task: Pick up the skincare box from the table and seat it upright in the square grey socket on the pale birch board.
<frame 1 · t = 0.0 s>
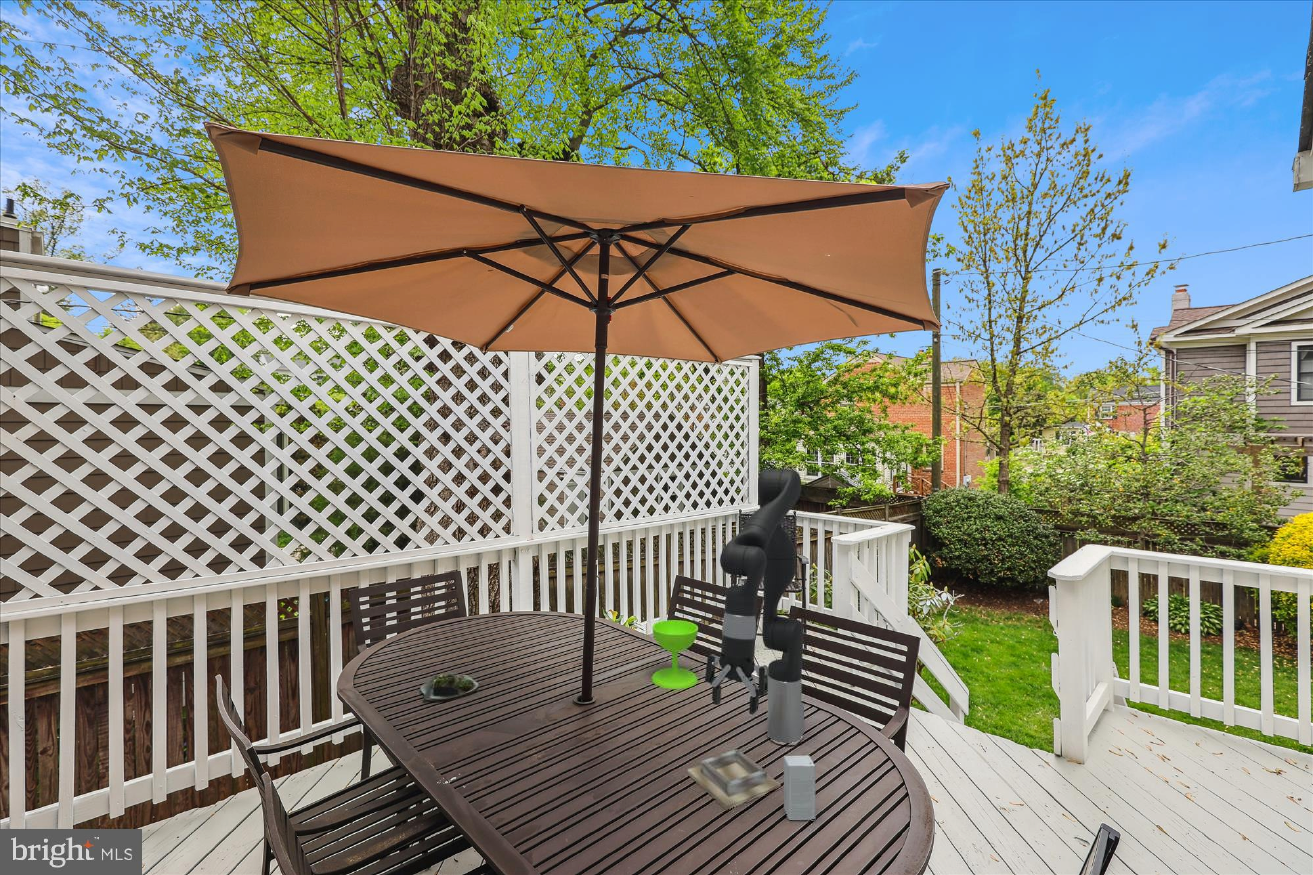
hand: (734, 708, 125), 22 cm above the table, tool pointing down, fingers open, 8 cm apart
wineglass: (674, 679, 194), on the table
socket board: (733, 781, 135), on the table
salad plate: (449, 692, 183), on the table
skincare box: (799, 815, 123), on the table
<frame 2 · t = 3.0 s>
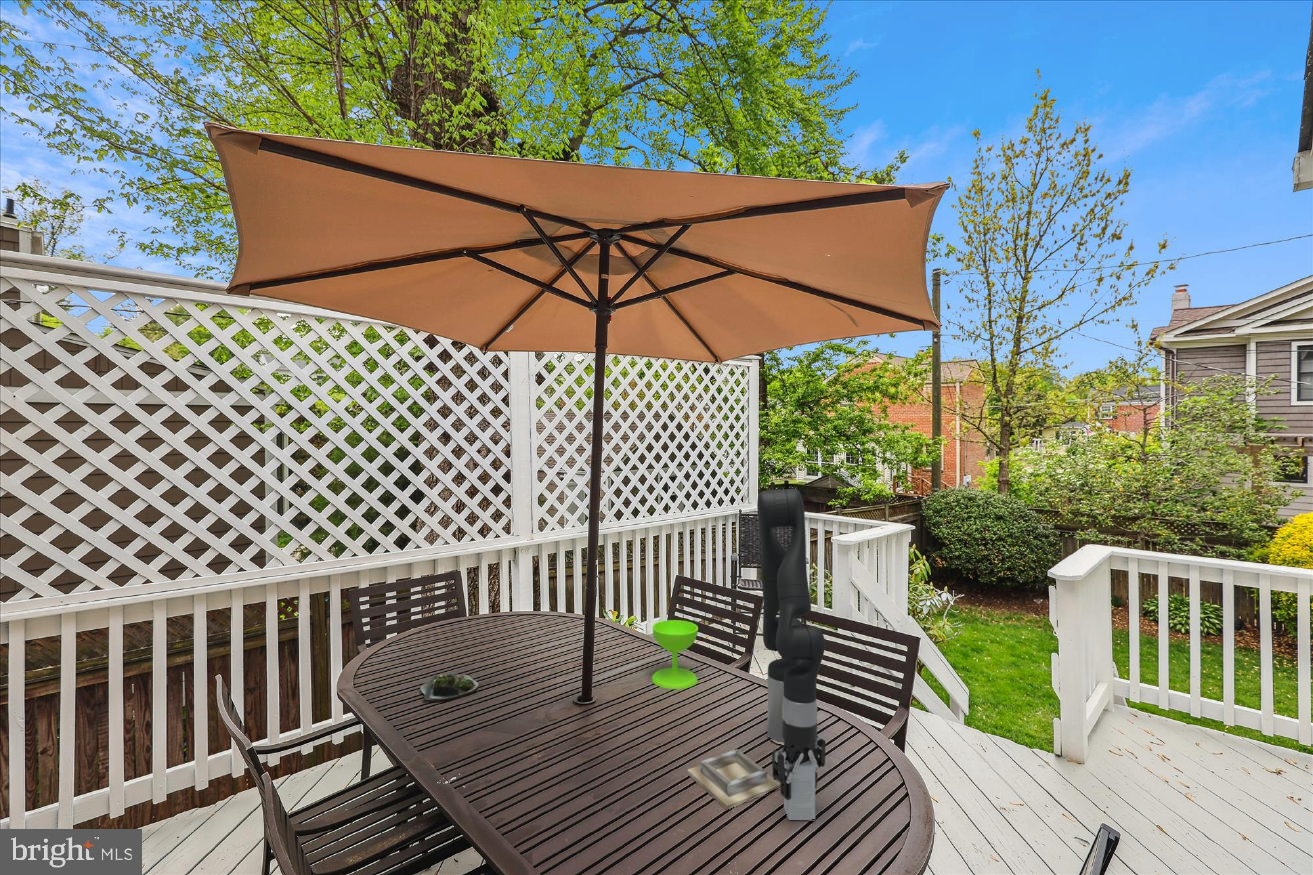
hand: (799, 792, 123), 5 cm above the table, tool pointing down, fingers closed on skincare box, 7 cm apart
skincare box: (798, 815, 123), on the table, touching gripper
everything else where it was.
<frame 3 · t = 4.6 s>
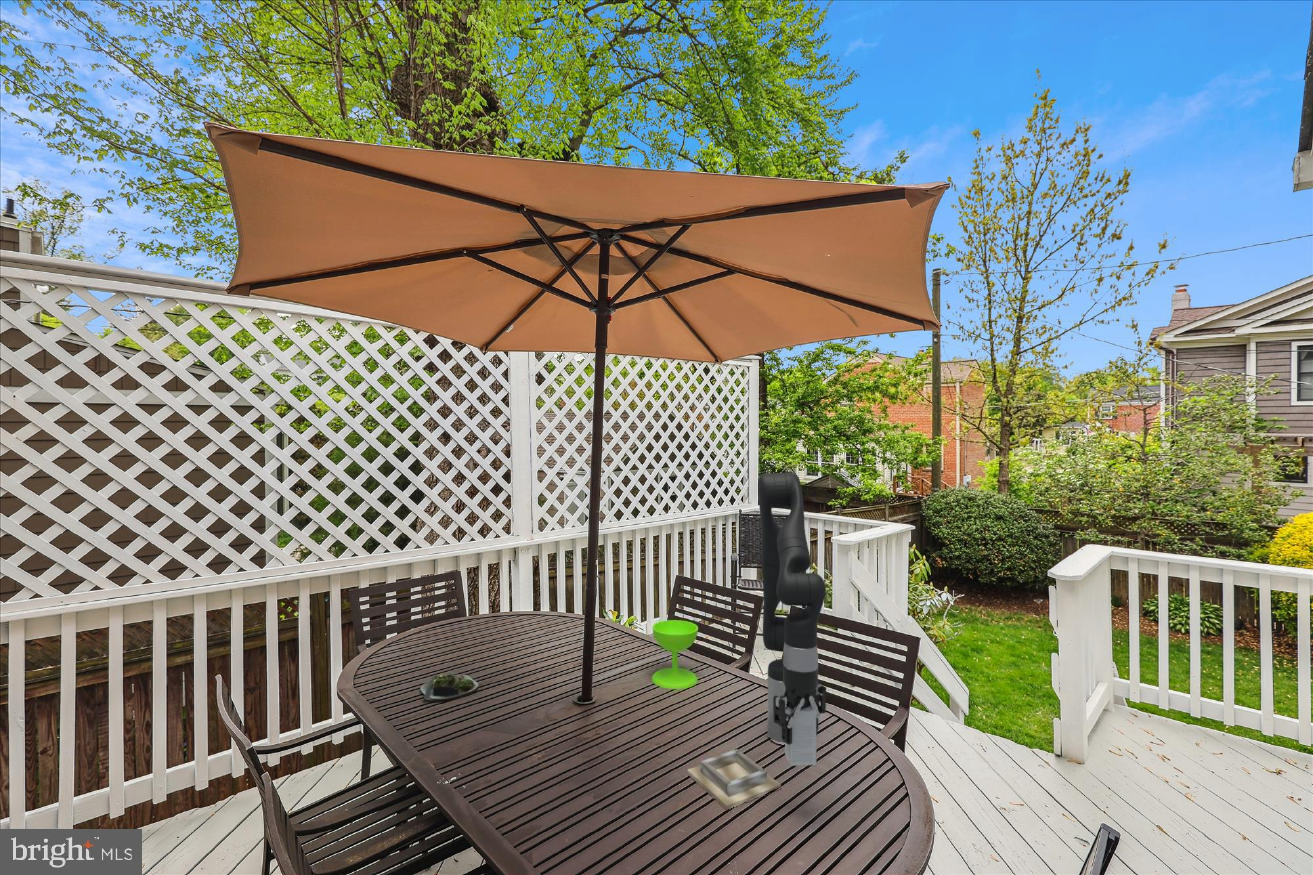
hand: (800, 737, 123), 17 cm above the table, tool pointing down, fingers closed on skincare box, 7 cm apart
skincare box: (800, 761, 123), point 12 cm above the table, touching gripper
everything else where it was.
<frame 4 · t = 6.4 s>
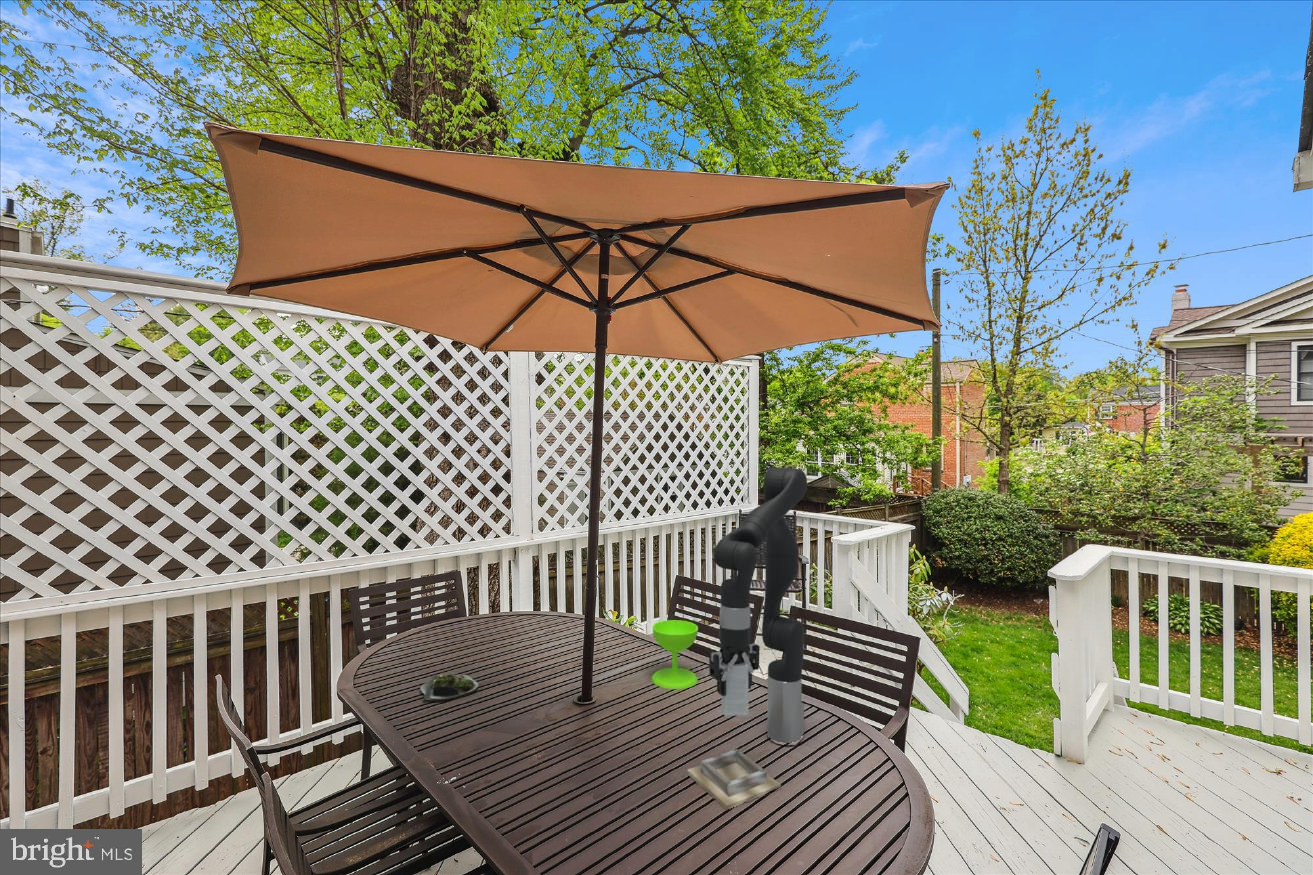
hand: (734, 691, 135), 22 cm above the table, tool pointing down, fingers closed on skincare box, 7 cm apart
skincare box: (734, 712, 135), point 16 cm above the table, touching gripper
everything else where it was.
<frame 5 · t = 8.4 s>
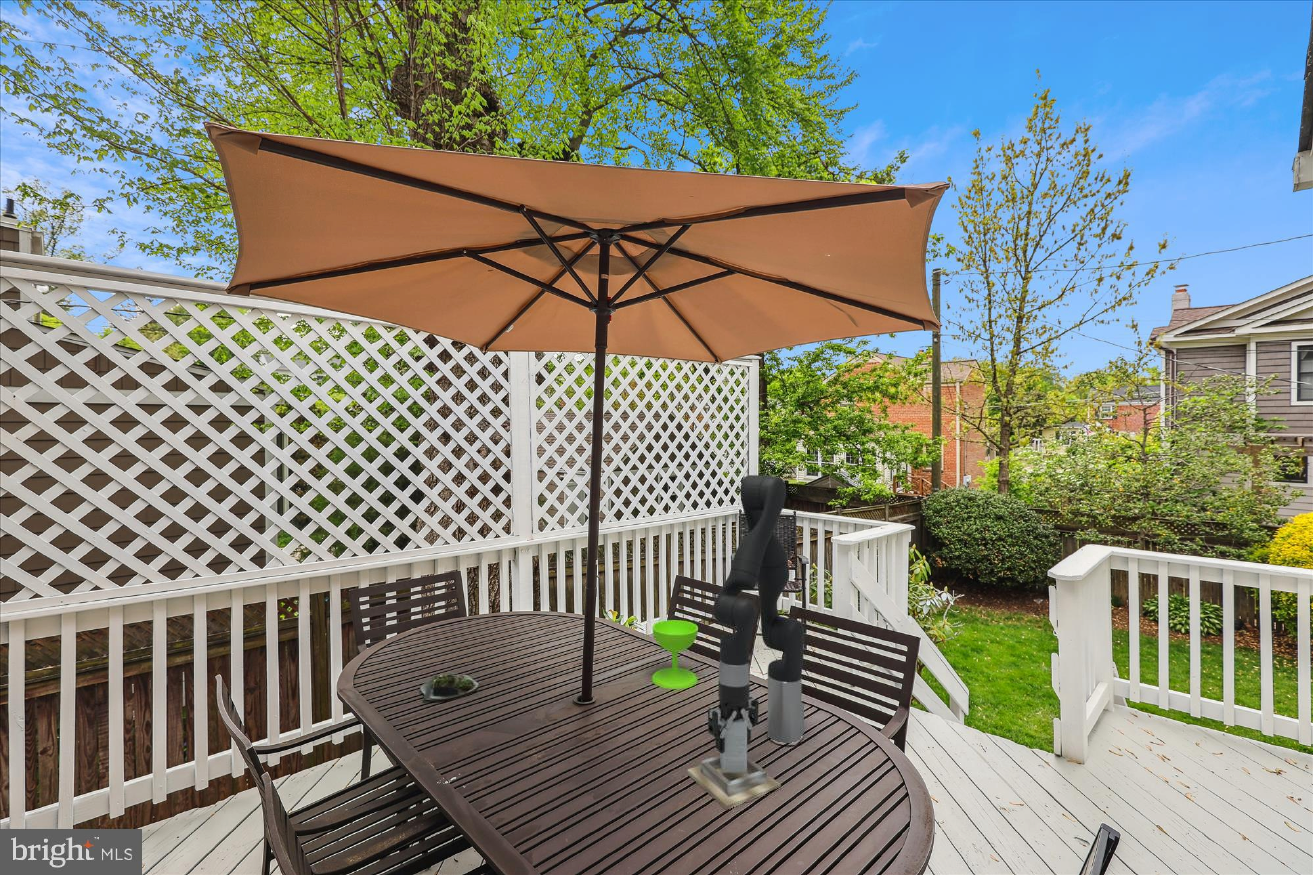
hand: (733, 747, 135), 8 cm above the table, tool pointing down, fingers closed on skincare box, 7 cm apart
skincare box: (733, 768, 135), point 3 cm above the table, touching gripper
everything else where it was.
when the fingers open (6 cm above the table, at t = 10.1 s): skincare box stays where it is, resting on socket board.
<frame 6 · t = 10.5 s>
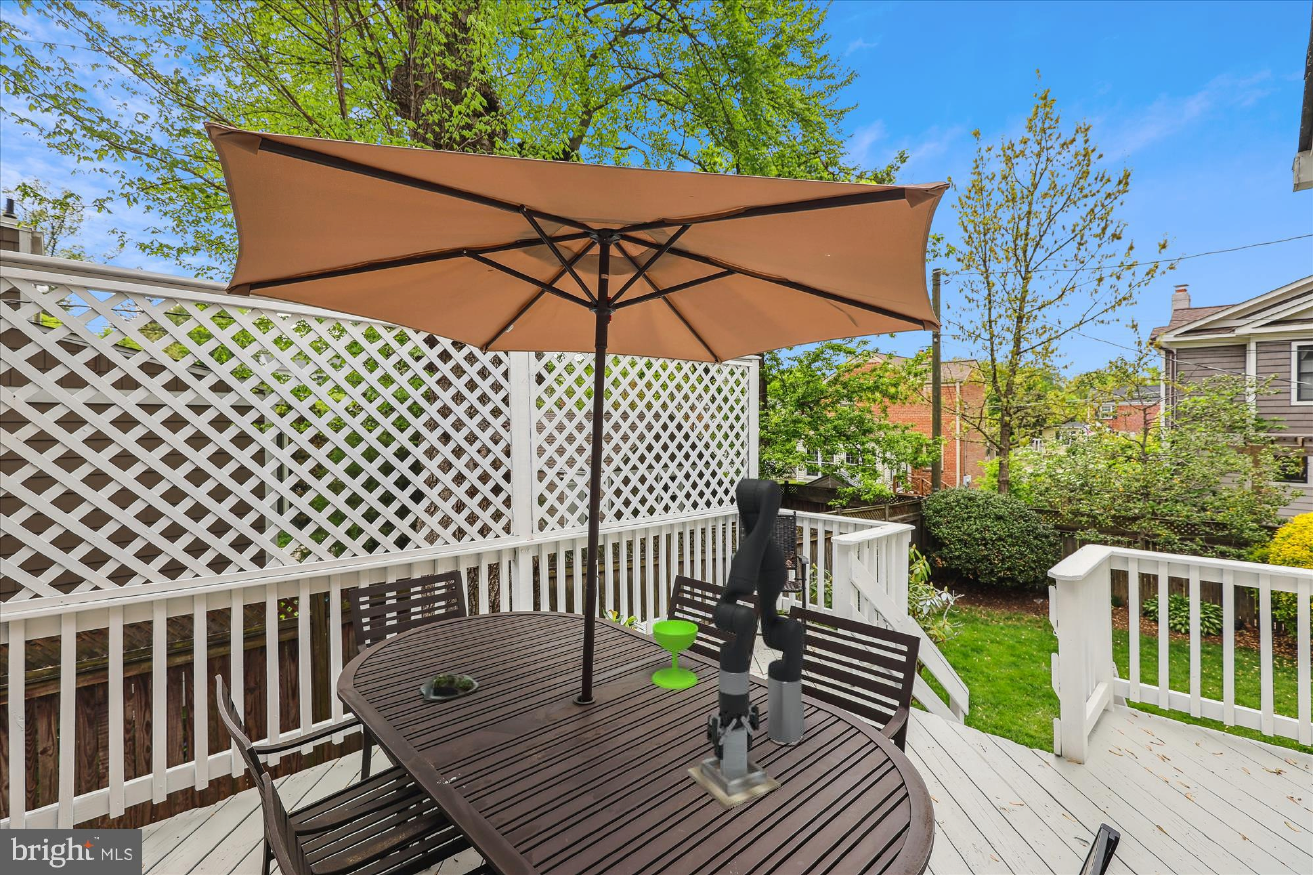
hand: (733, 753, 135), 7 cm above the table, tool pointing down, fingers open, 8 cm apart
skincare box: (733, 777, 135), point 1 cm above the table, touching socket board
everything else where it was.
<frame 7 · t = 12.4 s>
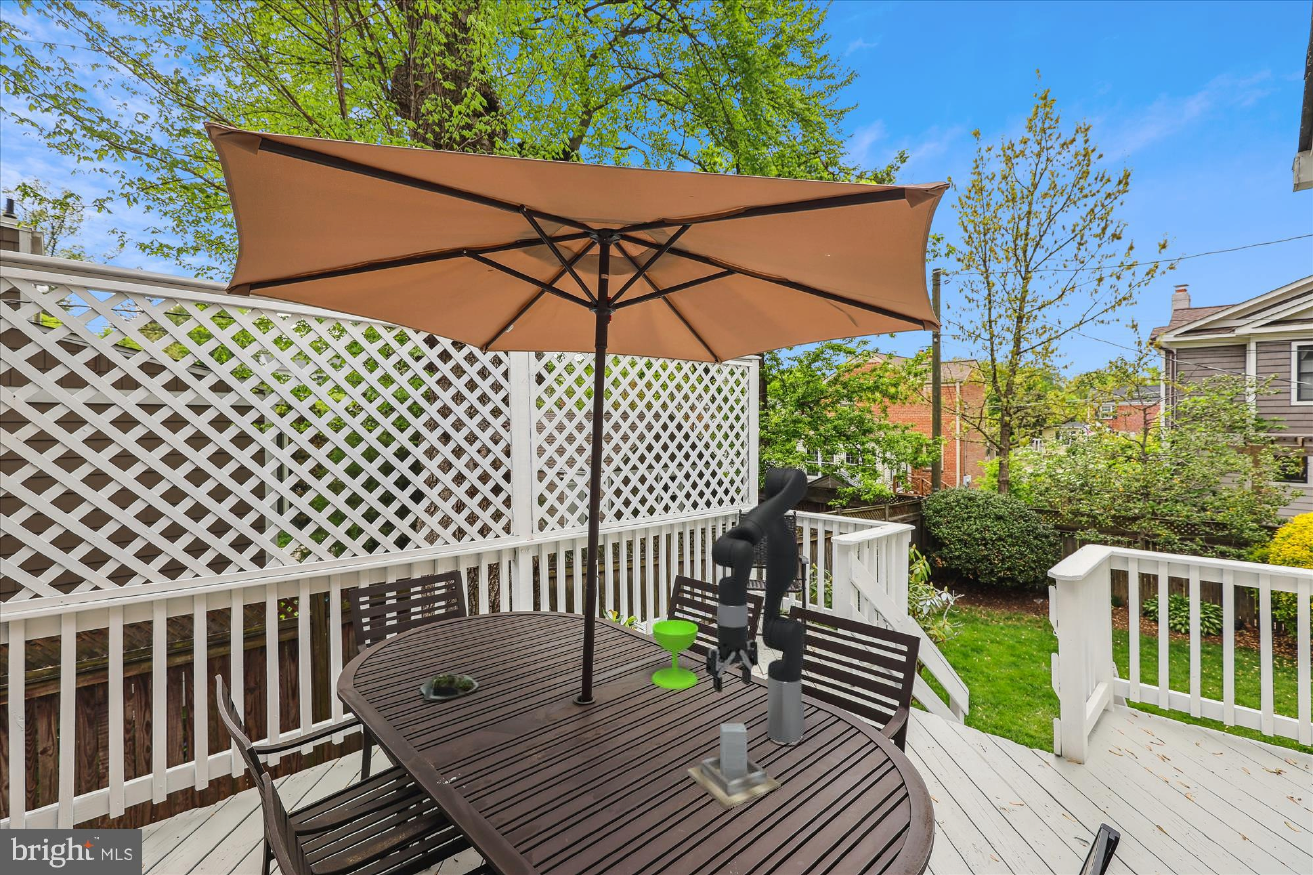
hand: (732, 687, 136), 22 cm above the table, tool pointing down, fingers open, 8 cm apart
nothing on the table moved.
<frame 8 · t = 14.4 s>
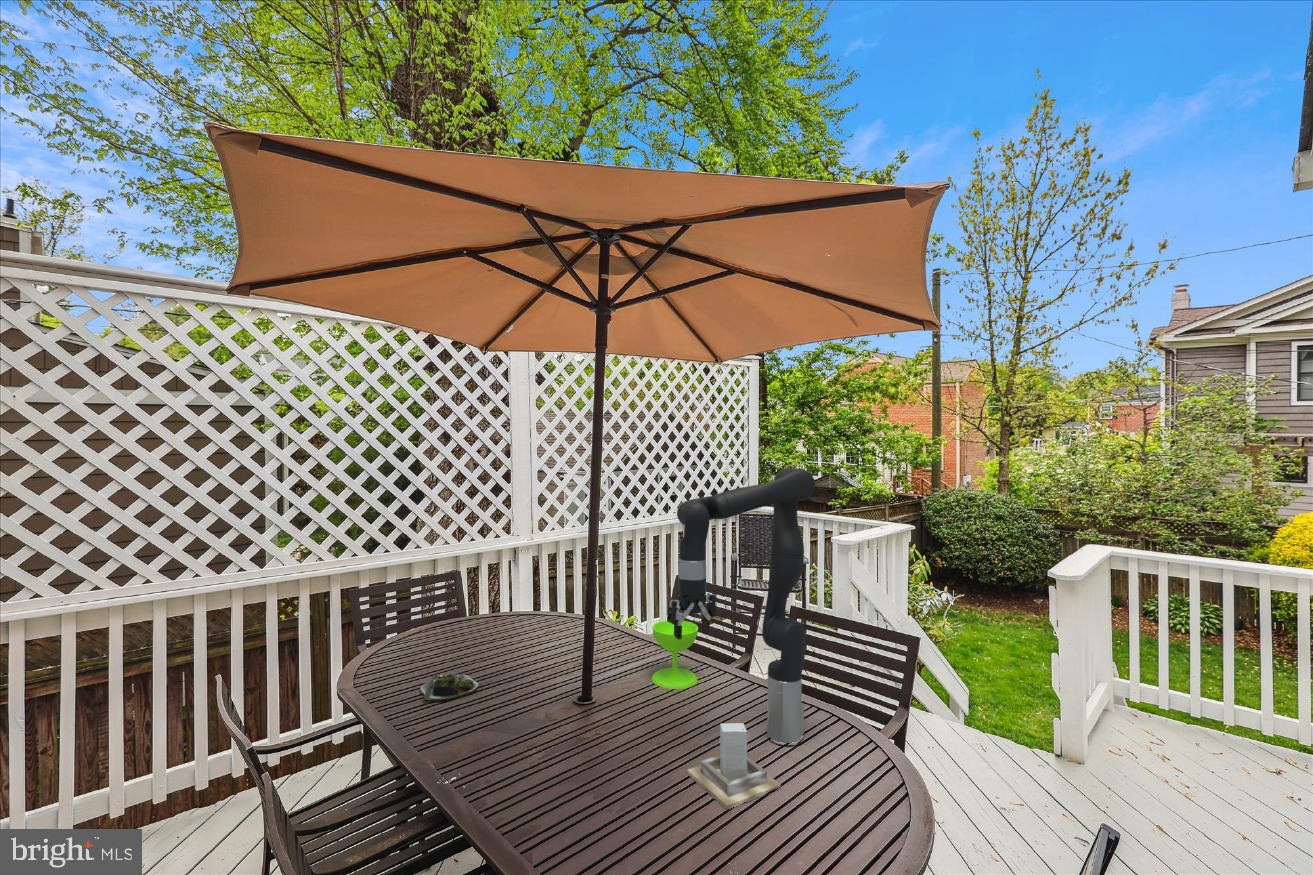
hand: (691, 636, 150), 30 cm above the table, tool pointing down, fingers open, 8 cm apart
nothing on the table moved.
at the end: skincare box 0.0 cm off-centre on the socket board, point 0.8 cm above the socket board's base; skincare box tilted 0°; the gripper is holding nothing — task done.
